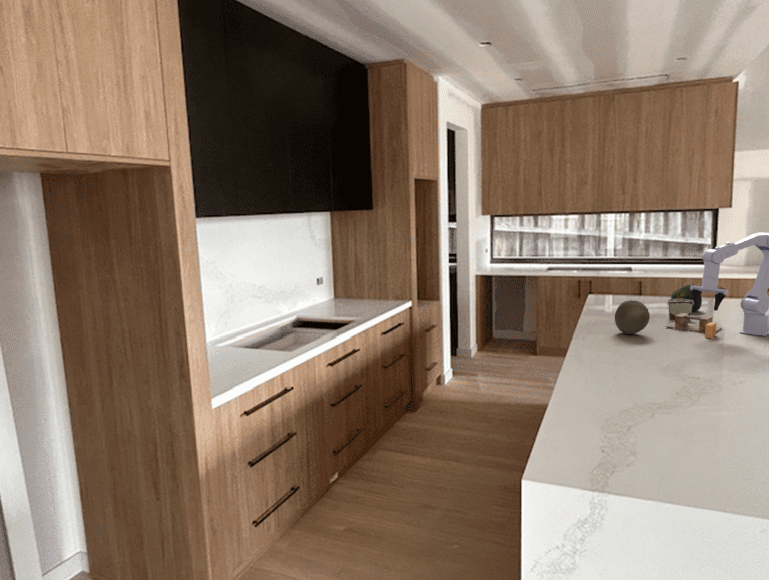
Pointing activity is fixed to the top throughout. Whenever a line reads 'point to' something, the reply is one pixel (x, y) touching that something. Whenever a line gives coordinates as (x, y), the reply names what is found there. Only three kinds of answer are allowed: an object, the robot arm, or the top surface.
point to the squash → (686, 296)
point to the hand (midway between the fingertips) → (706, 308)
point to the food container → (679, 307)
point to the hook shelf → (682, 323)
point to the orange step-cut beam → (710, 330)
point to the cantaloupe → (631, 317)
